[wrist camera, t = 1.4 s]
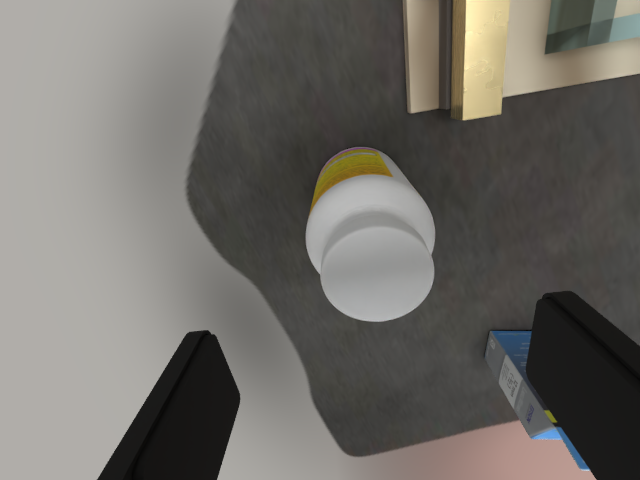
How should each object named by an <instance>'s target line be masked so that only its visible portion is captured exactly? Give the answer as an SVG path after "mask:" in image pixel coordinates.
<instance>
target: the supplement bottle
mask: <svg viewBox="0 0 640 480" xmlns="http://www.w3.org/2000/svg"><path fill="white" fill-rule="evenodd" d="M434 243H435V226H434V221H433V217H432V214H431V212H430V210H429V208H428V206H427V204H426V203H425V202H424V200H423V199H422V197H421V196H420V195H419V193H418V192H417V191H416V190H415V188H414V187H413V186H412V185H411V184H410V182H409V181H408V179H407V178H406V177H405V176H404V174H403V173H402V172H401V170H400V169H399V168H398V166H397V165H396V164H395V163H394V162H393V161H392V160H391V159H390V158H389V157H388V156H387V155H386V154H384V153H382V152H381V151H378V150H376V149H373V148H369V147H353V148H349V149H346V150H343V151H341V152H339V153H338V154H336V155H334V156H333V157H332V158H331V159H330V160H329V161H328V162H327V163H326V164H325V166H324V167H323V168H322V170H321V172H320V174H319V177H318V180H317V184H316V188H315V192H314V197H313V201H312V205H311V210H310V214H309V218H308V222H307V228H306V247H307V251H308V254H309V257H310V260H311V262H312V264H313V265H314V267H315V269H316V270H317V271H318V273H319V274H320V277H321V284H322V288H323V290H324V293H325V295H326V297H327V298H328V300H329V301H330V302H331V303H332V305H334V306H335V307H336V308H337V309H338V310H339V311H341V312H342V313H344V314H346V315H348V316H350V317H352V318H355V319H359V320H364V321H373V322H378V321H387V320H392V319H395V318H398V317H401V316H403V315H405V314H407V313H409V312H411V311H412V310H413V309H415V308H416V307H417V306H419V305H420V303H421V302H422V301H423V300H424V299H425V298H426V296H427V295H428V293H429V291H430V289H431V287H432V284H433V280H434V264H433V259H432V257H431V254H432V251H433V248H434Z"/></svg>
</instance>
